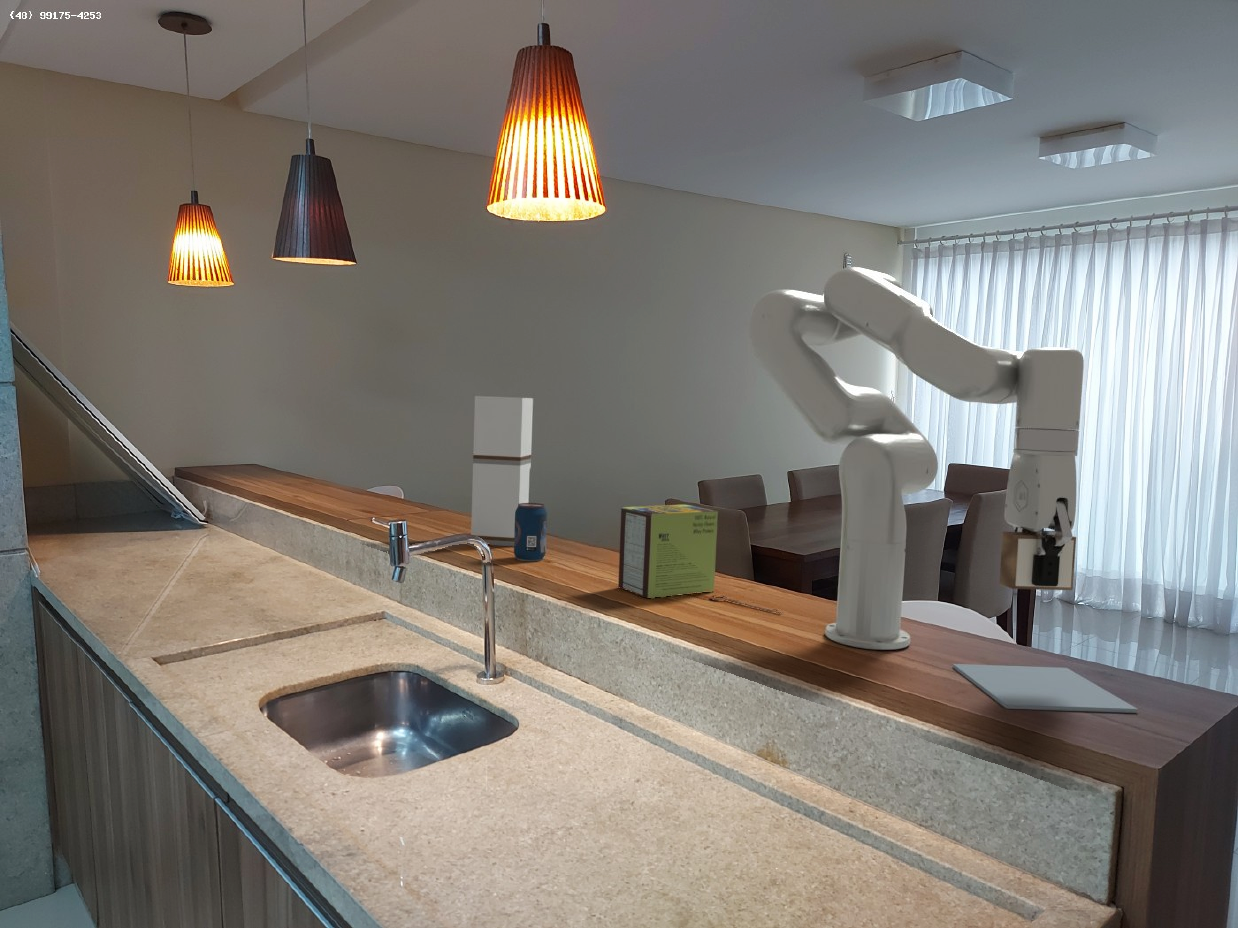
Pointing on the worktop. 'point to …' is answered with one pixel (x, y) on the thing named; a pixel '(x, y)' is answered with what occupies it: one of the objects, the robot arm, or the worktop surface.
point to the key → (744, 603)
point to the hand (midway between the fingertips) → (1036, 580)
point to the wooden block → (1020, 561)
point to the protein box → (667, 550)
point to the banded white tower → (500, 465)
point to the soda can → (530, 532)
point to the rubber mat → (1042, 688)
